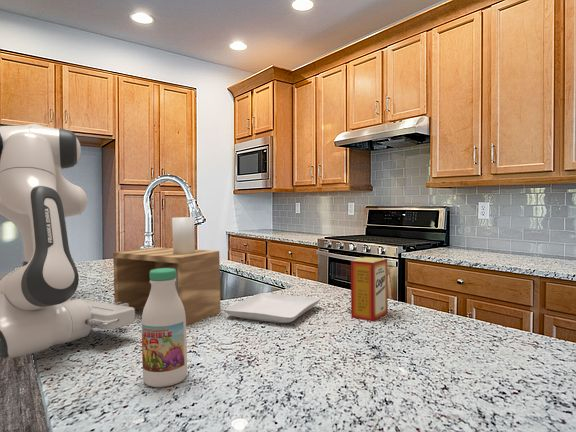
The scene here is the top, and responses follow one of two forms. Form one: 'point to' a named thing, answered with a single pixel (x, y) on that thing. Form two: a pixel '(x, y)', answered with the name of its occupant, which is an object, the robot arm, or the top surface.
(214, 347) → the top surface
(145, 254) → the cubby
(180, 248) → the white pillar candle
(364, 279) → the baking soda box
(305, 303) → the salad plate
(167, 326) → the milk bottle
